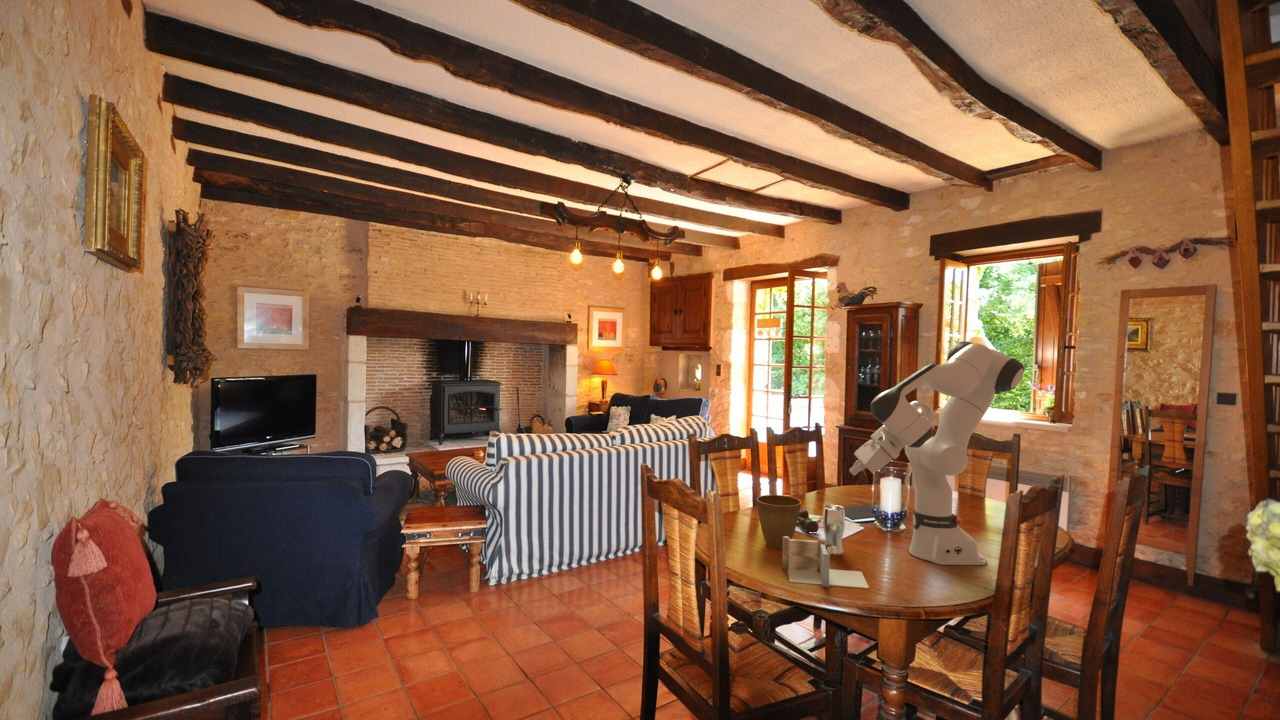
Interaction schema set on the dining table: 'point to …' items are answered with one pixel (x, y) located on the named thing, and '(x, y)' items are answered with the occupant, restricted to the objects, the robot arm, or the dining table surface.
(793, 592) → the dining table surface
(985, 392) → the robot arm
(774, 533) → the plant pot
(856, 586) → the card
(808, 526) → the kendama
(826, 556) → the fence gate
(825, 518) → the beer glass
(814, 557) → the fence fixed section
